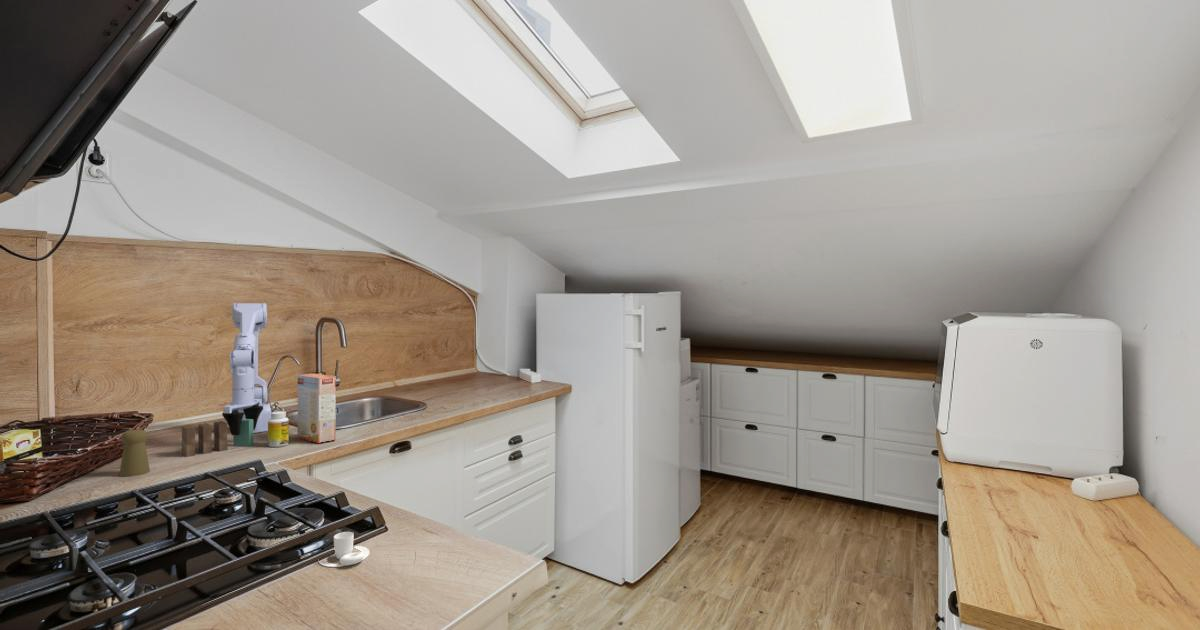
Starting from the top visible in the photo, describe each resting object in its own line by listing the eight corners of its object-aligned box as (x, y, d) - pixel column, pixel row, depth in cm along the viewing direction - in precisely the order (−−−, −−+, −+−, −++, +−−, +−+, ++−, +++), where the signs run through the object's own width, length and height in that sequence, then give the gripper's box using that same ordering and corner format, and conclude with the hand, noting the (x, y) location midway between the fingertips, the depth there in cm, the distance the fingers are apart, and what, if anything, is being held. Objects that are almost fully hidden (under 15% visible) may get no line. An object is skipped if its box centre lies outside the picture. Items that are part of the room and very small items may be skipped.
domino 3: (222, 447, 168) (221, 421, 168) (227, 449, 165) (227, 423, 164) (214, 448, 166) (213, 422, 166) (219, 451, 163) (219, 424, 163)
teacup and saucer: (365, 568, 91) (365, 544, 91) (312, 574, 89) (312, 549, 89) (371, 546, 100) (372, 524, 100) (323, 551, 97) (323, 528, 97)
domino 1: (190, 452, 162) (190, 425, 162) (195, 455, 158) (195, 427, 158) (181, 453, 160) (181, 426, 160) (186, 456, 157) (186, 428, 157)
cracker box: (336, 440, 176) (336, 375, 176) (317, 444, 172) (317, 377, 171) (315, 434, 185) (315, 372, 184) (296, 438, 180) (296, 374, 180)
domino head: (237, 444, 171) (237, 418, 171) (253, 444, 171) (253, 419, 171) (233, 446, 169) (233, 420, 169) (249, 446, 169) (249, 420, 169)
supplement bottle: (282, 447, 168) (282, 414, 168) (264, 447, 167) (264, 414, 167) (292, 443, 173) (292, 410, 173) (274, 443, 173) (274, 410, 173)
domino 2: (206, 449, 165) (206, 423, 165) (211, 452, 162) (211, 425, 161) (198, 451, 163) (198, 424, 163) (203, 454, 160) (203, 426, 160)
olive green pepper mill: (155, 470, 143) (155, 428, 143) (129, 477, 138) (128, 433, 138) (140, 468, 145) (139, 427, 145) (113, 475, 140) (113, 432, 140)
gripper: (246, 385, 177) (247, 427, 177) (213, 391, 163) (213, 437, 163) (268, 385, 177) (268, 427, 177) (236, 392, 162) (236, 438, 163)
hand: (243, 432), depth 170 cm, fingers open, 6 cm apart
